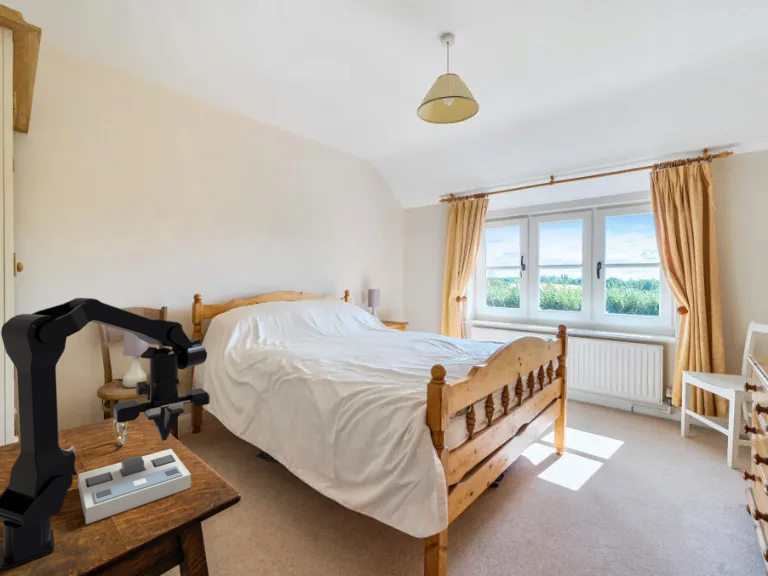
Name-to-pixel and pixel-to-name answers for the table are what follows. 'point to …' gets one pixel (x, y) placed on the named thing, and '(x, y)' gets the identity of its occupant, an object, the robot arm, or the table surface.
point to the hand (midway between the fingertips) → (164, 439)
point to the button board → (131, 486)
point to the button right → (162, 461)
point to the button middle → (132, 466)
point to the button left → (98, 479)
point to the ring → (125, 434)
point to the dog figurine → (71, 449)
